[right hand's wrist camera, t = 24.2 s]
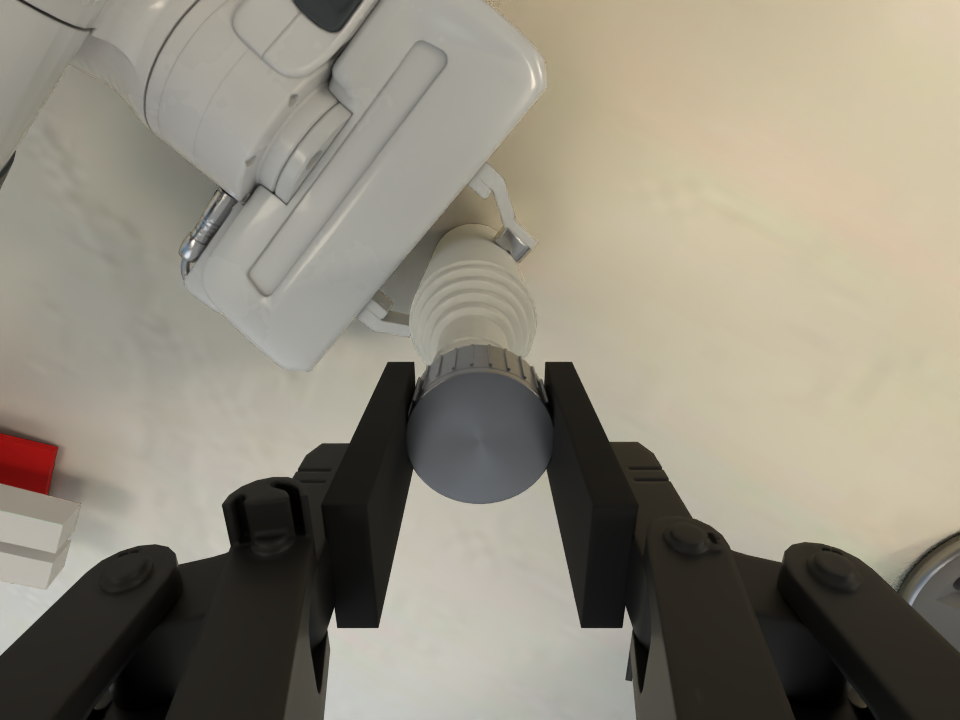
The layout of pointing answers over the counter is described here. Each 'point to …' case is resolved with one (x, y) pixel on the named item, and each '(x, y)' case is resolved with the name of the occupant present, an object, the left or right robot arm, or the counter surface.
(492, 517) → the counter surface
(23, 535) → the toy
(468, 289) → the bottle
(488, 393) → the cap
